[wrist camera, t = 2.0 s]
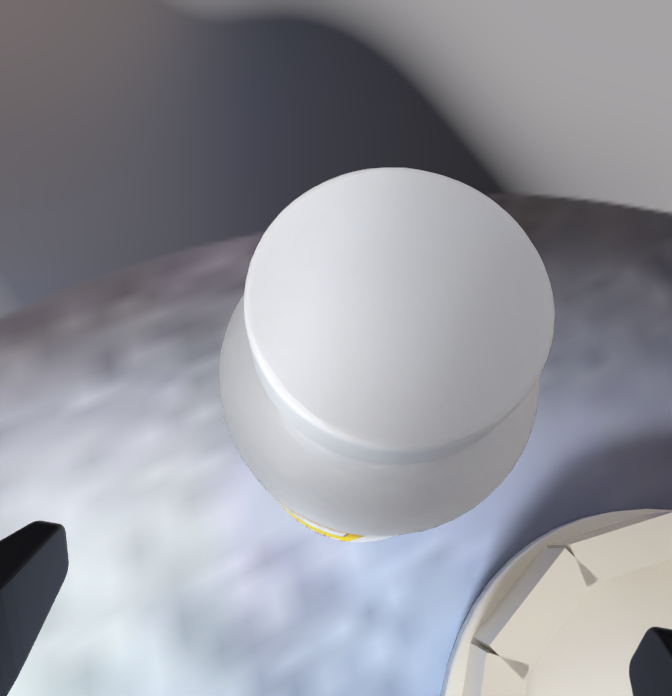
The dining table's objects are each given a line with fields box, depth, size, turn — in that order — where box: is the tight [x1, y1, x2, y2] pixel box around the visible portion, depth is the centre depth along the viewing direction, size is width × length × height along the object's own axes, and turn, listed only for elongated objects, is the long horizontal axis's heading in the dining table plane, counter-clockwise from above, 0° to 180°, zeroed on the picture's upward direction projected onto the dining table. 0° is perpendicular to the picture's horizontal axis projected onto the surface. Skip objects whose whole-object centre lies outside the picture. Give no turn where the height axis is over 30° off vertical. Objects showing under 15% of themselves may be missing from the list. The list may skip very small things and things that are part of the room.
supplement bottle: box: [219, 168, 555, 542], centre depth 14 cm, size 7×7×13 cm
